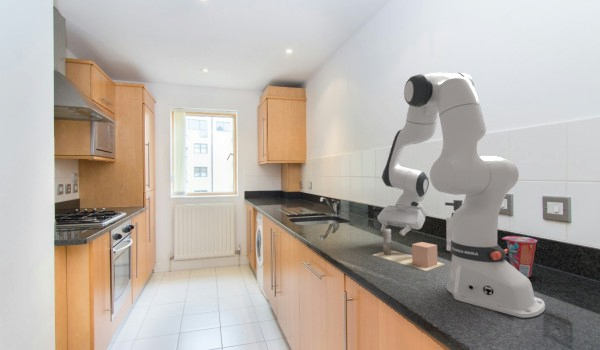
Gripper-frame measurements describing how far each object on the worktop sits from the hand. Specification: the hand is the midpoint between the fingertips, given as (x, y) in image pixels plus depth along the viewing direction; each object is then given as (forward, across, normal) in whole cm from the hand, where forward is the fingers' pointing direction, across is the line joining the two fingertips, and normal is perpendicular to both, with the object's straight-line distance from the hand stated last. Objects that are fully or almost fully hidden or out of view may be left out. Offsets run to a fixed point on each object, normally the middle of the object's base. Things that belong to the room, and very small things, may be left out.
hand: (391, 232), depth 120 cm
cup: (-4, +39, +18) cm, 43 cm away
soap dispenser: (-14, +11, +28) cm, 33 cm away
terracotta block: (+8, +16, +4) cm, 19 cm away
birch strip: (+9, +9, +5) cm, 13 cm away
